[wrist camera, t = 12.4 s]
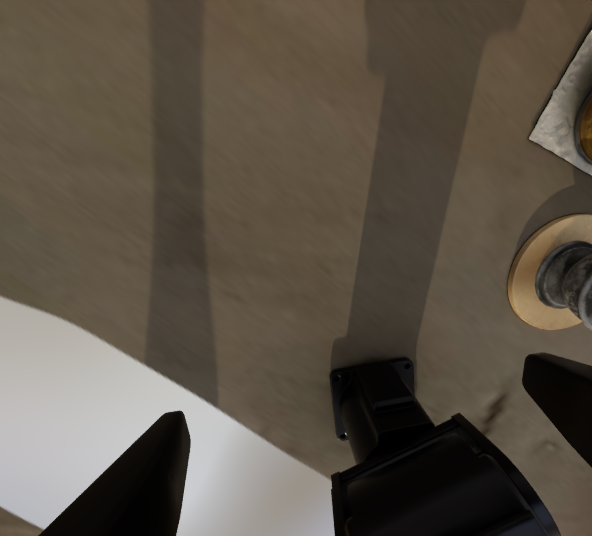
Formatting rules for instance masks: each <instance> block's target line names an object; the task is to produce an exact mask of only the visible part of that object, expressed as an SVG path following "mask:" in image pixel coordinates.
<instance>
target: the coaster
mask: <svg viewBox="0 0 592 536" xmlns="http://www.w3.org/2000/svg"><path fill="white" fill-rule="evenodd" d="M572 241H585V242H589V243H591V244H592V215H588V214H574V215H568V216H564V217H561V218H558V219H556V220H554V221H552V222H550V223H548V224H546V225H545V226H543V227H542V228H540V229H539V230H538V231H537V232H535V233H534V234H533V235H532V236H531V237H530V238H529V239H528V240H527V241H526V243H525V244H524V245H523V246H522V248H521V249H520V251H519V252H518V254H517V256H516V258H515V260H514V262H513V264H512V267H511V270H510V274H509V279H508V296H509V300H510V303H511V306H512V308H513V309H514V311H515V312H516V314H517V315H518V316H519V317H520V318H521V319H522V320H524V321H525V322H527V323H529V324H531V325H533V326H535V327H537V328H541V329H547V330H557V329H564V328H568V327H571V326H574V325H576V324H578V323H580V322H582V320H580V319H579V318H578V317H577V316H575V315H574V314H573V313H572V312H571V311H570V310H569V309H568V308H564V309H555V308H551V307H549V306H546V305H545V304H543V303H542V302H541V301H540V300H539V298H538V296H537V294H536V290H535V278H536V274H537V272H538V269H539V267H540V265H541V264H542V262H543V260H544V259H545V258H546V257H547V256H548V255H549V254H550V253H551V252H552V251H553V250H554V249H556V248H557V247H559V246H560V245H563V244H565V243H567V242H572Z"/></svg>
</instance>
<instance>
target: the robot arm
mask: <svg viewBox="0 0 592 536" xmlns="http://www.w3.org/2000/svg"><path fill="white" fill-rule="evenodd" d="M407 363H408V364H407ZM405 364H407V365H406V366H404V365H405ZM335 376H339V377H338V378H334V377H335ZM329 377H330V386H331V394H332V403H333V412H334V420H335V429H336V435H337V438H338V439H339V440H340V441H345V440H349V443H350V446H351V449H352V452H353V455H354V458H355V461H356V464H357V465H355V466H353V467H351V468H349V469H347V470H345V471H343V472H341V473H340V472H337V473H335V474H333V475H331V480H332V489H331V495H332V505H333V518H334V530H335V536H561V534H560V532H559V530H558V527H557V525H556V523H555V522H554V520H553V518H552V516H551V515H550V513H549V511H548V510H547V508H546V507H545V505H544V503H543V502H542V501H541V499H540V498H539V496H538V495H537V493H536V492H535V491H534V489H533V488H532V487H531V485H530V484H529V482H528V481H527V480H526V479H525V477H524V476H523V475H522V474H521V472H520V471H519V470H518V469H517V467H516V466H515V465H514V464H513V463H512V462H511V461H510V460H509V459H508V457H507V456H506V455H505V454H504V453H503V452H501V451H500V450H499V449H498V448H497V447H496V446H495V445H494V444H493V443H492V442H491V441H490V440H489V439H487V438H486V437H485V436H484V435H483V434H482V433H481V432H480V431H479V430H478V429H477V428H476V427H474V426H473V425H472V424H471V423H470V422H469V421H468V420H467V419H466V418H465V417H464V416H463V415H462V414H460V413H458V414H456V415H454V416H451V418H452V419H450V420H448V421H445V422H443V423H441V424H439V425H437V426H435V425H434V423H433V422H432V420H431V419H430V418H429V416H428V415H427V413H426V412H425V410H424V409H423V408H422V406H421V405H420V403H419V402H418V401H417V399H416V398H415V396H414V372H413V363H412V361H411V360H410V359H409V358H400V359H394V360H388V361H381V362H376V363H370V364H365V365H359V366H355V367H349V368H344V369H338V370H334V371H332V372H331V373H330V376H329ZM522 383H523V386H524V388H525V390H526V391H527V393H528V394H529V395H530V396H531V398H532V399H533V400H534V401H535V402H536V404H537V405H538V406H539V407H540V408H541V410H542V411H543V412H544V413H545V415H546V416H547V417H548V418H549V419H550V421H551V422H552V423H553V424H554V425H555V427H556V428H557V429H558V430H559V432H560V433H561V434H562V435H563V436H564V438H565V439H566V440H567V441H568V442H569V443H570V445H571V446H572V447H573V448H574V449H575V450H576V451H577V452H578V453H579V454H580V456H581V457H582V458H583V459H584V460H585V461H586V462H587V463H588V464H589V465H590V466H591V467H592V366H590V365H586V364H583V363H579V362H576V361H572V360H569V359H565V358H562V357H558V356H555V355H552V354H548V353H536V354H530V355H528V356H527V357H526V358H525V363H524V370H523V377H522ZM343 433H344V434H343ZM189 453H190V434H189V431H188V427H187V423H186V419H185V416H184V414H183V412H182V411H175V412H168V413H165V414H164V415H162V416H161V417H160V418H159V419H158V420H157V421H156V422H155V423H154V424H153V425H152V426H151V427H150V428H149V429H148V430H147V431H146V432H145V433H144V434H143V435H142V436H140V438H138V439H137V440H136V441H135V442H134V443H133V444H132V445H131V446H130V447H129V448H128V449H127V450H126V451H125V452H124V453H123V454H122V455H121V456H120V457H119V458H118V459H117V460H116V461H115V462H114V463H113V464H112V465H111V466H110V467H109V468H108V469H107V470H105V471H104V472H103V474H101V475H100V476H99V478H97V479H96V480H95V481H94V482H93V483H92V484H91V485H90V486H89V487H88V488H87V489H86V490H85V491H84V492H83V493H82V494H81V495H80V496H79V497H78V498H77V499H76V500H75V501H74V502H73V503H72V504H70V505H69V506H68V507H67V508H66V509H65V510H64V511H63V512H62V513H61V514H60V515H59V516H58V517H57V518H56V519H55V520H54V521H53V522H52V523H51V524H50V525H49V526H48V527H47V528H46V529H45V530H44V531H43V532H42V533H41V534H40V535H39V536H176V533H177V528H178V524H179V520H180V513H181V508H182V501H183V494H184V487H185V480H186V473H187V466H188V459H189Z"/></svg>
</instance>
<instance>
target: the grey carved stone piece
mask: <svg viewBox="0 0 592 536" xmlns="http://www.w3.org/2000/svg"><path fill="white" fill-rule="evenodd" d="M535 290H536V294H537V296H538V298H539V300H540V301H541V302H542V303H543V304H545V305H546V306H549V307H551V308H555V309H564V308H568V309H569V310H570V311H571V312H572V313H573V314H574V315H575V316H577V317H578V318H579V319H580V320H582V321H583V323H584V324H585V325H586V326H587V327H588V328H589V329H590V330H592V244H591V243H589V242H585V241H572V242H567V243H565V244H563V245H560V246H559V247H557V248H556V249H554V250H553V251H552V252H551V253H550V254H549V255H548V256H547V257H546V258H545V259H544V260H543V262H542V264H541V265H540V267H539V269H538V272H537V274H536V278H535Z"/></svg>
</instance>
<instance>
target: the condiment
mask: <svg viewBox="0 0 592 536" xmlns="http://www.w3.org/2000/svg"><path fill="white" fill-rule="evenodd" d="M529 139H530V140H532V141H534V142H536V143H538V144H540V145H541V146H543V147H544V148H546V149H548V150H550V151H552V152H554V153H555V154H557V155H558V156H560V157H562V158H564V159H565V160H566V161H568V162H570V163H571V164H573V165H574V166H576V167H578V168H579V169H581V170H583V171H584V172H586V173H588V174H590V175H591V176H592V31H591V32H590V33H589V34H588V36H587V37H586V39H585V41H584V43H583V44H582V46H581V48H580V49H579V51H578V53H577V55H576V57H575V58H574V60H573V61H572V62H571V64H570V66H569V67H568V69H567V71H566V73H565V75H564V76H563V78H562V80H561V82H560V84H559V85H558V87H557V88H556V89H555V90H554V91H553V96H552V98H551V100H550V102H549V104H548V105H547V107H546V109H545V110H544V112H543V113H542V115H541V117H540V118H539V121H538V123H537V125H536V127H535V129H534V130H533V132H532V134H531V136H530V137H529Z"/></svg>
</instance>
